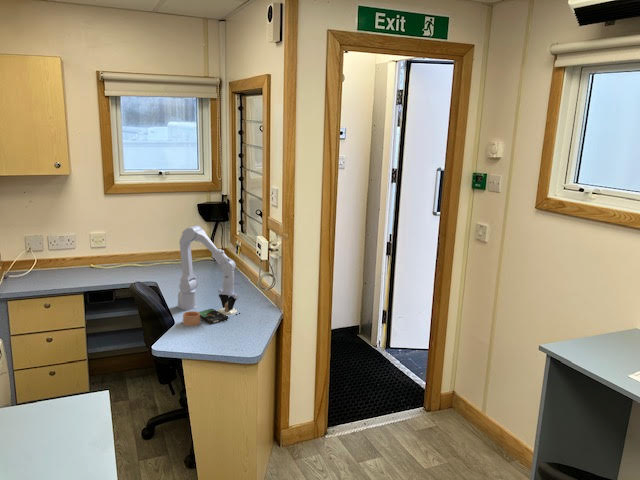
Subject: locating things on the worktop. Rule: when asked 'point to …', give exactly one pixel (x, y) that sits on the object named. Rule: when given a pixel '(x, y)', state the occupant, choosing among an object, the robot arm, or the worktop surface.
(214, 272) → the worktop surface
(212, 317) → the disk drive
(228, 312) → the lid
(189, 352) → the worktop surface
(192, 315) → the bowl
